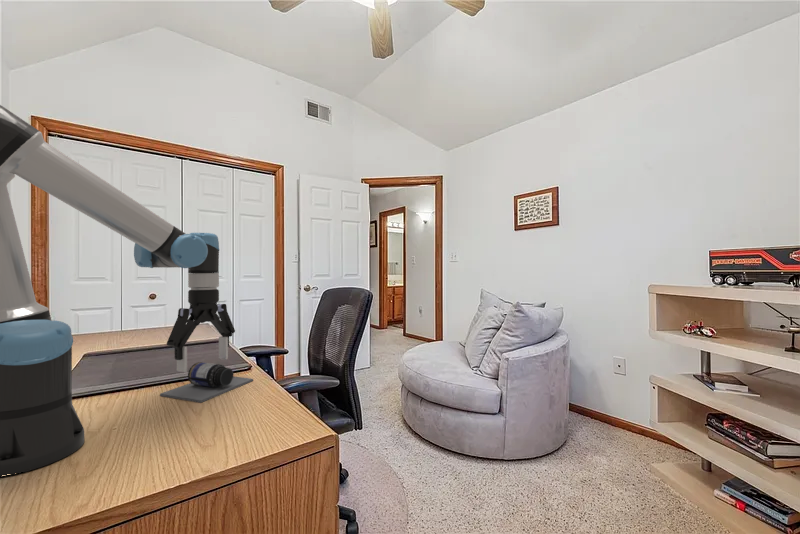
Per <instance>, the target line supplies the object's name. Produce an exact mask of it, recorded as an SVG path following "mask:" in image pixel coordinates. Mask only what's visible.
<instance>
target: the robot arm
mask: <svg viewBox="0 0 800 534" xmlns="http://www.w3.org/2000/svg"><path fill="white" fill-rule="evenodd" d="M16 176H18V177H19V178H21V179H23V180H25V181H26V182H27V183H30V184H31V185H33V186H34V187H37V188H39V189H40V190H42V191H44V192H46V193H47V194H49V195H51V196H52V197H54V198H56V199H58V200H60V201H62V203H65V204H66V205H68V206H70V207H72V208H73V209H75V210H77V211H78V212H80V213H82V214H84V215H85V216H87V217H89V218H91V219H93V220H95V221H96V222H98V223H100V224H101V225H103V226H105V227H107V228H108V229H110V230H112V231H114V232H115V233H117V234H119V235H121V236H122V237H124V238H125V239H128V240H129V241H131V242H133V243H134V248H133V257H134V262H135V264H136V265H137V266H138V267H140V268H149V269H153V268H166V269H167V268H182V269H187V274H188V280H187V281H188V282H187V283H188V284H187V286H188V288H189V290H188V291H187V302H188V303H189V308H187V307H186V308H183V307H180V308H178V310H177V318H176V321H175V323H174V325H173V327H172V330H171V331H170V334H169V336H168V339H167V340H166V341H167V342H166V346H167V347H173V348H174V360H175V361H176V372H177V373H178V372H179V373H188V346H185V345H186V343H187V342H188V341H189V339H190V337H191V336H192V334H193V333H194V331H195V330H196V328H197V327H198V326H199V325H200V324H204V323H206V322H208V323H211V325H212V326H213V327H214V328H215V330H217V332H218V333H219V334H220V336H218V359H219V360H228V359H229V346H230V337H233V334H235V333H236V330H235V327H234V325H233V322H232V320H231V318H230V315H229V313H228V310H227V308H228V307H227V304H226V303H219V302H220V290H219V286H220V274H219V272H220V270H219V269H220V267H219V266H220V265H219V264H220V263H219V262H220V261H219V260H220V259H219V258H220V254H219V253H220V241H219V237H218V235H217V234H215V233H211V232H189V233H186V232H184V231H182V230H181V229H180V228H178V227H176V226H174V225H173V224H171V223H170V222H169V221H167V220H165V219H164V218H162V217H161V216H159V215H157V214H156V213H154V212H153V211H151V210H150V209H149V208H147V207H146V206H144V205H142V204H141V203H139V202H138V201H137V200H134V199H133V198H132V197H130V196H129V195H127V194H126V193H124V192H122V191H121V190H119V189H118V188H117V187H115V186H113V185H112V184H110V183H109V182H107V181H106V180H104V179H103V178H102V177H100V176H98V175H97V174H95V173H94V172H92V171H90V169H88V168H86V167H85V166H83V165H81V164H80V163H78V162H77V161H75V160H74V159H72V158H71V157H69V156H68V155H66V154H65V153H63V152H61V151H60V150H59V149H57V148H56V147H55V146H52V145H51V144H49V143H48V142H46V140H45V139H44V136H43V133H42V132H41V131H40V130H38V128H36V127H34V126H32V124H29V122H27V121H25V120H23V119H22V118H20V117H19V116H17V115H16V114H15V113H13V112H12V111H10V110H8V109H7V108H6V107H4V106H3V105H1V104H0V476H2V475H7V474H14V475H16V474H15V473H19V474H21V472H23V473H26V472H29V471H33V470H36V469H39V468H42V467H45V466H48V465H50V464H52V463H55V462H58V461H60V460H62V459H64V458H66V457H68V456H70V455H72V454H73V453H75V452H76V451H79V449H80V448H81V447H82V446H83V445H84V444H85V428H84V426H83V424H82V422H81V420H80V418H79V416H78V414H77V411H76V409H75V407H74V404H73V380H72V379H73V372H72V371H73V370H72V369H73V368H72V367H73V365H72V363H73V361H72V360H73V355H72V354H73V353H72V352H73V343H74V336H73V335H72V328H71V326H70V325H69V324H68V323H66V322H64V321H59V320H52V317H51V313H50V310H49V309H50V308H49V307H47V306H45V305H44V304H40V303H39V302H38V301H37V300H36V296H35V292H34V288H33V284H32V280H31V277H30V276H31V275H30V272H29V268H28V264H27V260H26V256H25V252H24V249H23V244H22V240H21V237H20V233H19V229H18V226H17V225H18V224H17V221H16V218H15V214H14V209H13V205H12V202H11V198H10V194H9V191H8V186H7V185H8V184H9V183H10V182H11V181H12V180H13V179H14V178H16Z"/></svg>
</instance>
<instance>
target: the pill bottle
mask: <svg viewBox="0 0 800 534" xmlns="http://www.w3.org/2000/svg"><path fill="white" fill-rule="evenodd" d="M233 376H234V371H233V370H232V369H231V368H230V367H226V366H225V365H223V364H219V363H211V362H203V361H202V362H201V361H198V362H196V363H194V364H193V365H191V367H190V368H189V369H188V371H187V378H188V381H189V383H192V384H194V385H201V386H208V387H219V386H227V385H229V384H230V383H231V381H232V379H233Z"/></svg>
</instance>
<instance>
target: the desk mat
mask: <svg viewBox="0 0 800 534" xmlns="http://www.w3.org/2000/svg"><path fill="white" fill-rule="evenodd" d="M253 381H254V378H250V377H241V376H235V375H233V379H232V381H231V383H230V384H229V385H227V386H219V387H208V386H201V385H194V384H192V383H190V382H189V383H187V384H184V385H181V386H179V387H176V388H173V389H170V390H167V391H164V392H162V393H160V394H159V396H160V397H165V398H170V399H175V400H183V401H188V402H194V403H200V404H201V403H203V402H207V401H209V400H211V399H214V398H216V397H218V396H220V395H223V394H226V393H228V392H231V391H232V390H233V391H234V390H235V389H237V388H240V387H242V386H244V385H246V384H249V383H252V382H253Z"/></svg>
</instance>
